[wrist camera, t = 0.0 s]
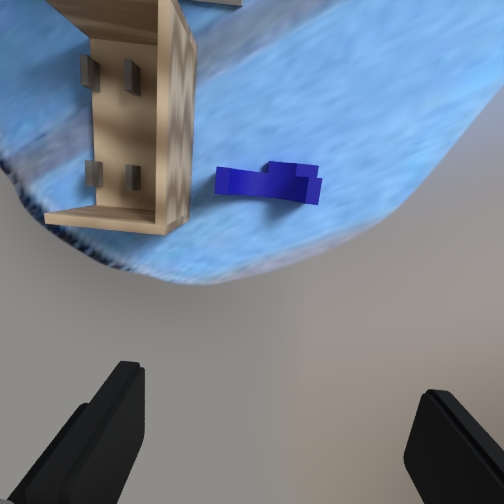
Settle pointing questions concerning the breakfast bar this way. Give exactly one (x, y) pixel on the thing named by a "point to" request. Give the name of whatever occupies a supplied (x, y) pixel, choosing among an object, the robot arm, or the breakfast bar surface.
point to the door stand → (224, 2)
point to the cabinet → (136, 114)
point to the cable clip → (272, 182)
